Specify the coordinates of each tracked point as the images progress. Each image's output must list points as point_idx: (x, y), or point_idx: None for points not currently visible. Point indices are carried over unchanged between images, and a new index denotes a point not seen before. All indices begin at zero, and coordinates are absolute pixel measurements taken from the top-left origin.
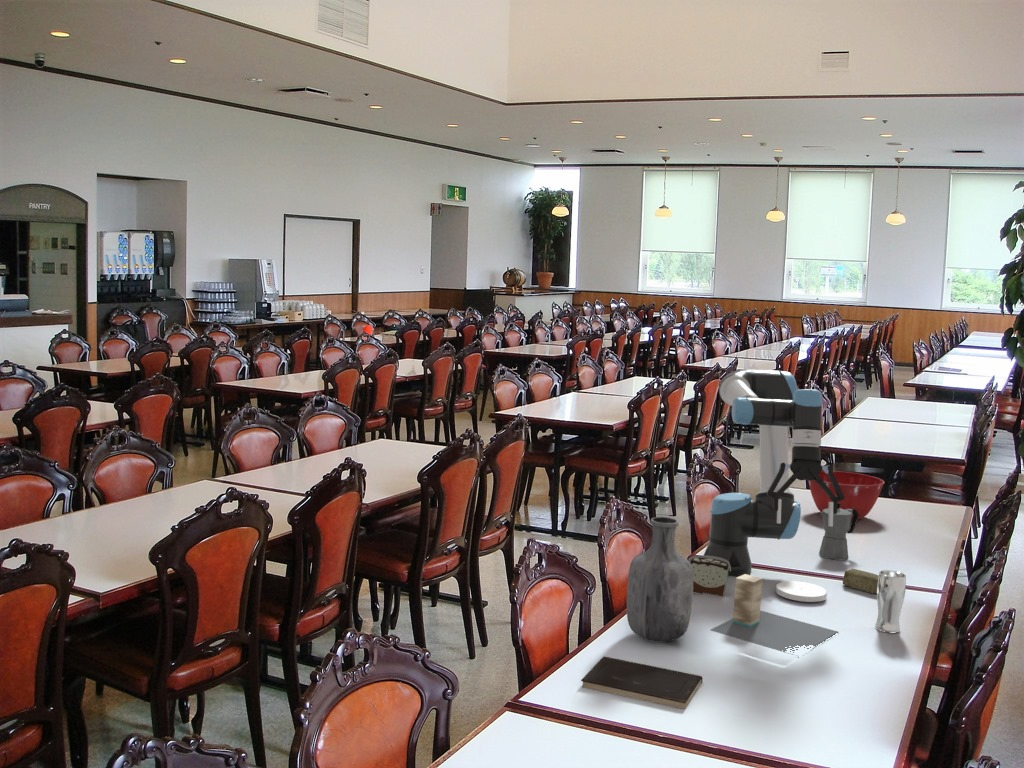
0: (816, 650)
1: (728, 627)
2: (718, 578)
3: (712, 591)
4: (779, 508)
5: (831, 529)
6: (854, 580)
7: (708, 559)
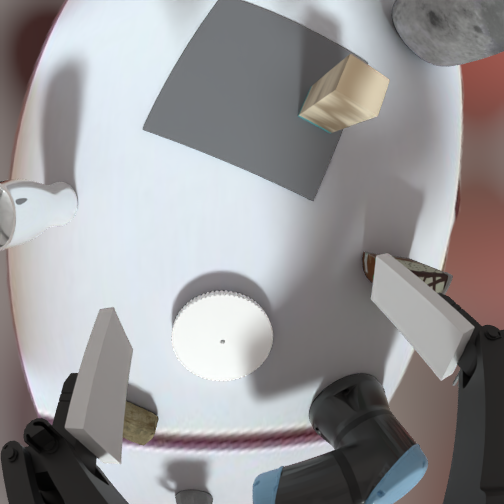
0: (190, 31)
1: None
2: None
3: None
4: (432, 296)
5: None
6: (136, 414)
7: None
